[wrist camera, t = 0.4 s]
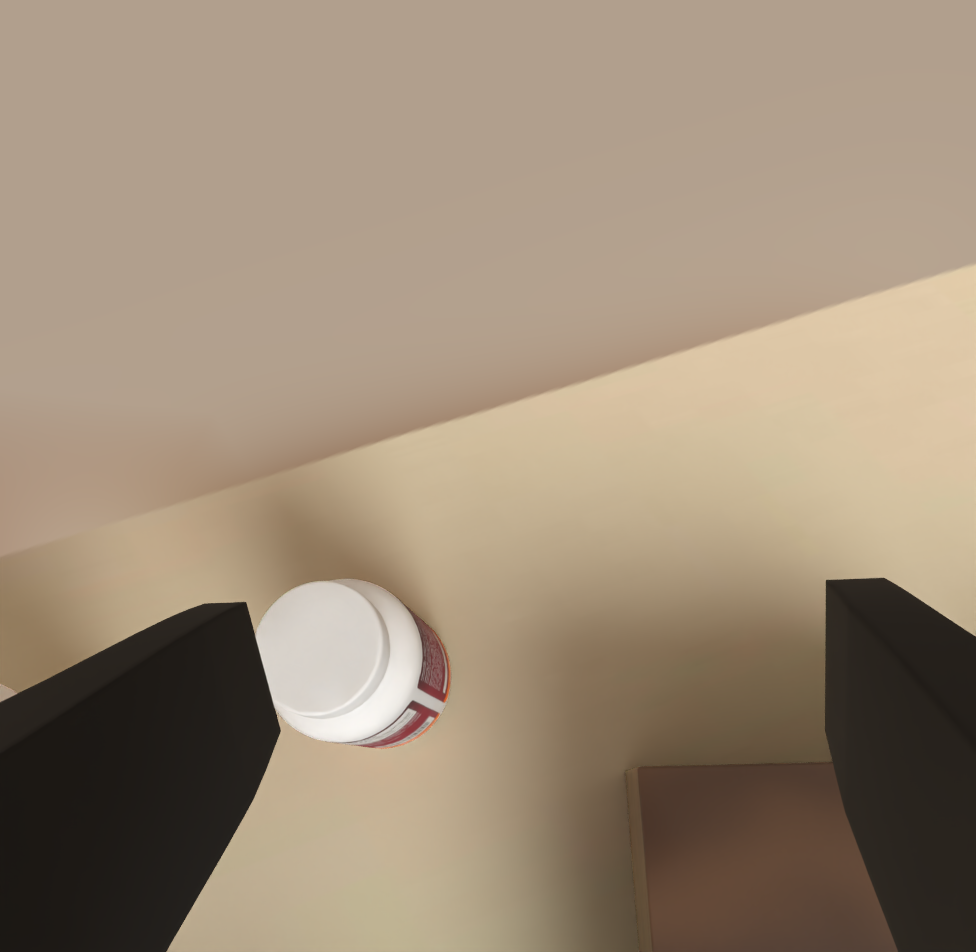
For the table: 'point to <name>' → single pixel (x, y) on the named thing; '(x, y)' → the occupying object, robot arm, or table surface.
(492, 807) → the table surface
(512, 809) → the table surface
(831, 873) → the cabinet
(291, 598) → the pill bottle
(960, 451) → the table surface
